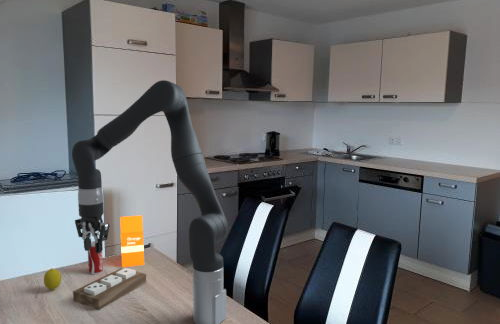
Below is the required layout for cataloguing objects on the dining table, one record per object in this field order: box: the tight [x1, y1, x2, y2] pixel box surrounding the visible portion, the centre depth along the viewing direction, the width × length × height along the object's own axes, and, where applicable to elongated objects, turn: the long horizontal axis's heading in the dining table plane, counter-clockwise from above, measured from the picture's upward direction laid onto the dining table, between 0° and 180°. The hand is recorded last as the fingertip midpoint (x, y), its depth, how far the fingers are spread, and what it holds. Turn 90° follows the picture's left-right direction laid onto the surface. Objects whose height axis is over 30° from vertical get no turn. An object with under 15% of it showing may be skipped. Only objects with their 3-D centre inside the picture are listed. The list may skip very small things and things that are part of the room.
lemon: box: [43, 268, 62, 291], centre depth 140 cm, size 6×6×8 cm
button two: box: [100, 275, 122, 287], centre depth 139 cm, size 5×5×3 cm
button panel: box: [72, 267, 147, 311], centre depth 140 cm, size 12×22×4 cm, turn 153°
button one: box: [116, 267, 137, 279], centre depth 146 cm, size 5×5×3 cm
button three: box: [84, 282, 107, 296], centre depth 133 cm, size 5×5×3 cm
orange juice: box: [119, 215, 145, 268], centre depth 164 cm, size 8×9×20 cm
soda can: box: [87, 240, 104, 276], centre depth 155 cm, size 5×5×12 cm
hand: (93, 251), depth 131 cm, fingers open, 4 cm apart
